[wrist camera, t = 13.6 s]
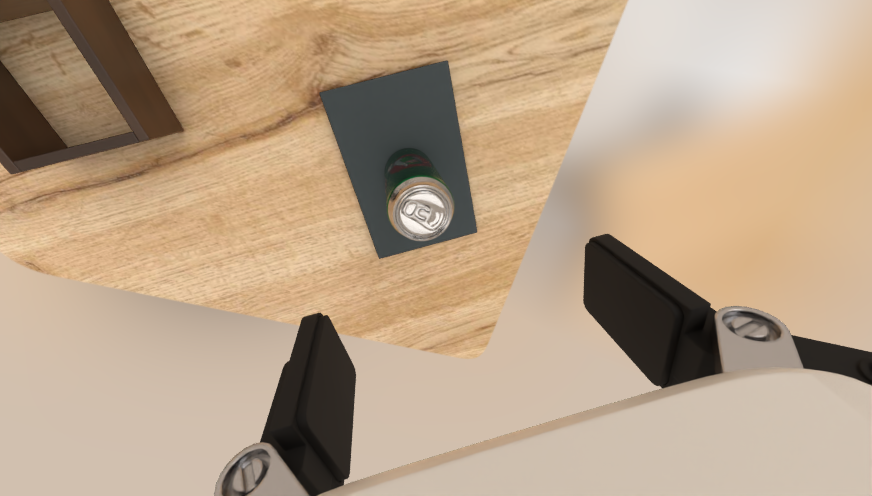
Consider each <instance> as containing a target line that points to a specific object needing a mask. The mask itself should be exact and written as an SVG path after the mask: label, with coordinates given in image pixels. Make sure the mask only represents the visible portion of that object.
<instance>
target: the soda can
mask: <svg viewBox="0 0 872 496" xmlns="http://www.w3.org/2000/svg"><path fill="white" fill-rule="evenodd" d="M384 174H385V190H386V206H387V215H388V218H389V221H390V223H391V225H392V226H393V227H394V229H395V230H396V231H397V232H399V233H400V234H401V235H403V236H405V237H407V238H409V239H411V240H415V241H428V240H431V239H434V238H436V237H438V236H439V235H441V234H442V233H443V232H444V231H445V230H446V229H447V227H448V226H449V224H450V222H451V219H452V217H453V214H454V199H453V196H452V193H451V191H450V190H449V188H448V186H447V185H446V183H445V182H444V180H443V179H442V177H441V176H440V174H439V172H438V171H437V169H436V168H435V166H434V165H433V163H432V162H431V160H430V159H429V157H428V156H427V155H426V154H425V153H423V152H422V151H420V150H418V149H414V148H404V149H401V150H398V151H397V152H395V153H394V154H393V155H391V157H390V158H389V159H388V161H387V163H386V166H385V173H384Z"/></svg>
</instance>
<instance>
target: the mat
mask: <svg viewBox="0 0 872 496" xmlns="http://www.w3.org/2000/svg"><path fill="white" fill-rule="evenodd" d="M320 96H321V99H322V102H323V104H324V107H325V110H326V113H327V115H328V118H329V121H330V124H331V127H332V129H333V132H334V135H335V138H336V140H337V143H338V146H339V149H340V151H341V154H342V157H343V160H344V163H345V165H346V168H347V171H348V174H349V176H350V179H351V182H352V185H353V187H354V190H355V193H356V196H357V199H358V201H359V204H360V207H361V210H362V212H363V215H364V218H365V221H366V223H367V226H368V229H369V232H370V235H371V237H372V240H373V243H374V246H375V248H376V251H377V254H378V257H379V259H381V258H384V257H388V256H392V255H395V254H399V253H403V252H406V251H410V250H414V249H417V248H421V247H425V246H429V245H432V244H436V243H440V242H443V241H447V240H451V239H454V238H458V237H462V236H465V235H469V234H473V233H476V232H477V227H476V222H475V216H474V210H473V204H472V198H471V193H470V187H469V181H468V175H467V169H466V164H465V158H464V152H463V146H462V141H461V135H460V129H459V123H458V117H457V112H456V106H455V100H454V94H453V88H452V83H451V77H450V71H449V65H448V61H443V62H439V63H435V64H431V65H427V66H423V67H419V68H415V69H411V70H407V71H403V72H399V73H396V74H392V75H388V76H384V77H380V78H376V79H372V80H368V81H364V82H360V83H356V84H352V85H348V86H344V87H340V88H336V89H332V90H328V91H324V92H320ZM404 148H414V149H418V150H420V151H422V152H423V153H425V154H426V155H427V156H428V157H429V159H430V160H431V162H432V163H433V165H434V166H435V168H436V169H437V171H438V172H439V174H440V176H441V177H442V179H443V180H444V182H445V183H446V185H447V186H448V188H449V190H450V191H451V193H452V196H453V199H454V214H453V217H452V219H451V222H450V224H449V226H448V227H447V229H446V230H445V231H444V232H443V233H442V234H441V235H439V236H438V237H436V238H434V239H431V240H428V241H415V240H411V239H409V238H407V237H405V236H403V235H401V234H400V233H399V232H397V231H396V230H395V229H394V227H393V226H392V225H391V223H390V221H389V218H388V215H387V206H386V190H385V174H384V173H385V166H386V163H387V161H388V159H389V158H390V157H391V155H393V154H394V153H395V152H397V151H398V150H401V149H404Z"/></svg>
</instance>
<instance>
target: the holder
mask: <svg viewBox="0 0 872 496" xmlns="http://www.w3.org/2000/svg"><path fill="white" fill-rule="evenodd" d="M50 10H53V11H54V12H55V14H56V15H57V17H58V18H59V20H60V21H61V23H62V24H63V26H64V27H65V29H66V30H67V32H68V33H69V35H70V37H71V38H72V40H73V41H74V43H75V44H76V46H77V47H78V49H79V50H80V52H81V53H82V55H83V56H84V58H85V59H86V61H87V62H88V64H89V65H90V67H91V68H92V70H93V71H94V73H95V74H96V76H97V77H98V79H99V81H100V82H101V84H102V85H103V87H104V88H105V90H106V91H107V93H108V94H109V96H110V97H111V99H112V100H113V102H114V103H115V105H116V106H117V108H118V109H119V111H120V112H121V114H122V115H123V117H124V118H125V120H126V122H127V123H128V125H129V126H130V128H131V129H132V131H133V132H129V133H125V134H121V135H117V136H113V137H109V138H105V139H101V140H97V141H93V142H89V143H85V144H81V145H77V146H73V147H69V148H67V147H66V145H65V144H64V143H63V142H62V140H61V139H60V138H59V136H58V135H57V134H56V133H55V131H54V130H53V129H52V127H51V126H50V125H49V124H48V122H47V121H46V120H45V118H44V117H43V116H42V114H41V113H40V112H39V111H38V109H37V108H36V107H35V105H34V104H33V103H32V102H31V100H30V99H29V98H28V96H27V95H26V94H25V93H24V91H23V90H22V89H21V87H20V86H19V85H18V84H17V82H16V81H15V80H14V78H13V77H12V76H11V75H10V73H9V72H8V71H7V69H6V68H5V67H4V65H3V64H2V63H1V62H0V163H1V164H2V165H3V166H4V167H5V168H6V169H7V171H8V172H9V173H10V174H16V173H20V172H24V171H28V170H32V169H36V168H40V167H44V166H48V165H52V164H55V163H59V162H63V161H67V160H71V159H75V158H79V157H83V156H87V155H91V154H95V153H99V152H103V151H107V150H111V149H115V148H119V147H123V146H127V145H131V144H135V143H139V142H143V141H147V140H151V139H154V138H158V137H162V136H166V135H170V134H173V133H177V132H181V131H183V128H182V126H181V125H180V123H179V121H178V120H177V118H176V116H175V114H174V113H173V111H172V109H171V107H170V106H169V104H168V102H167V101H166V99H165V97H164V95H163V94H162V92H161V90H160V89H159V87H158V85H157V83H156V82H155V80H154V78H153V77H152V75H151V73H150V71H149V70H148V68H147V66H146V65H145V63H144V61H143V59H142V58H141V56H140V54H139V53H138V51H137V49H136V47H135V46H134V44H133V42H132V41H131V39H130V37H129V35H128V34H127V32H126V30H125V29H124V27H123V25H122V23H121V22H120V20H119V18H118V16H117V15H116V13H115V11H114V10H113V8H112V6H111V4H110V3H109V1H108V0H0V22H4V21H8V20H12V19H16V18H21V17H25V16H29V15H33V14H38V13H42V12H46V11H50Z"/></svg>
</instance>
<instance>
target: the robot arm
mask: <svg viewBox="0 0 872 496" xmlns="http://www.w3.org/2000/svg"><path fill="white" fill-rule="evenodd" d="M583 301H584V305H585V308H586V309H587V311H588V312H589V313H590V314H591V315H592V316H593V317H594V318H595V320H596V321H597V322H598V323H599V324H600V325H601V326H602V328H604V330H605V331H606V332H607V333H608V334H609V335H610V336H611V338H612V339H613V340H614V341H615V342H616V343H617V344H618V345H619V347H620V348H621V349H622V350H623V351H624V352H625V353H626V354H627V355H628V357H629V358H630V359H631V360H632V361H633V362H634V363H635V364H636V366H637V367H638V368H639V369H640V370H641V371H642V372H643V373H644V374H645V376H646V377H647V378H648V379H649V380H650V381H651V382H652V383H653V384H654V385H656V386H661V387H662V389H659V390H656V391H652V392H648V393H645V394H641V395H638V396H635V397H631V398H628V399H624V400H621V401H618V402H614V403H611V404H607V405H604V406H601V407H597V408H594V409H590V410H587V411H583V412H580V413H577V414H573V415H570V416H567V417H563V418H560V419H556V420H553V421H550V422H546V423H543V424H540V425H537V426H533V427H530V428H526V429H523V430H520V431H516V432H513V433H510V434H506V435H503V436H500V437H496V438H493V439H490V440H486V441H483V442H480V443H476V444H473V445H470V446H466V447H463V448H460V449H457V450H453V451H450V452H447V453H444V454H440V455H437V456H434V457H430V458H427V459H424V460H420V461H417V462H414V463H411V464H407V465H404V466H401V467H398V468H395V469H392V470H388V471H385V472H382V473H379V474H376V475H373V476H370V477H367V478H364V479H361V480H358V481H355V482H352V483H348V484H346V485H344V479H347V478H348V477H349V474H350V461H351V445H352V429H353V413H354V397H355V382H356V372H355V368H354V365H353V363H352V361H351V359H350V357H349V355H348V353H347V351H346V350H345V348H344V346H343V344H342V342H341V340H340V338H339V336H338V334H337V332H336V330H335V328H334V326H333V324H332V322H331V320H330V318H329V317H328V316H327V315H325V316H323V315H322V314H321V313H317V314H313V315H309V316H306V317H303V318H302V320H301V324H300V327H299V331H298V334H297V337H296V341H295V344H294V347H293V351H292V354H291V357H290V361H288V362H287V363H286V364H285V365H284V367H283V370H282V373H281V377H280V380H279V383H278V387H277V389H276V393H275V396H274V399H273V402H272V406H271V409H270V412H269V415H268V418H267V422H266V425H265V428H264V431H263V434H262V438H261V441H260V443H256V444H253V445H251V446H249V447H246V448H245V449H243V450H242V451H241V452H239V453H238V454H237V455H236V456H235V457H233V459H232V460H231V461H230V462H229V463H228V464H227V465H226V467H225V468H224V470H223V471H222V472H221V474H220V476H219V479H218V481H217V483H216V487H215V492H214V496H872V352H868V351H863V350H858V349H854V348H849V347H845V346H840V345H835V344H831V343H826V342H821V341H816V340H812V339H807V338H802V337H798V336H793V335H791V334H790V331H789V330H788V328H787V327H786V325H785V324H783V323H782V322H781V321H780V320H778V319H777V318H776V317H774V316H772V315H770V314H768V313H765V312H763V311H760V310H757V309H753V308H749V307H741V306H731V307H725V308H722V309H720V310H719V311H718V312H716V311H715V310H714V309H712V308H711V307H710V305H711V304H710V303H709V302H707V301H706V300H704V299H703V298H701V297H700V296H698V295H697V294H696V293H694V292H693V291H691V290H690V289H688V288H687V287H685V286H684V285H683V284H681V283H679V282H678V281H677V280H675V279H674V278H672V277H671V276H669V275H668V274H667V273H665V272H664V271H662V270H661V269H659V268H658V267H656V266H655V265H653V264H652V263H650V262H649V261H648V260H646V259H645V258H643V257H642V256H640V255H639V254H637V253H636V252H634V251H633V250H632V249H630V248H629V247H627V246H626V245H624V244H623V243H621V242H620V241H618V240H617V239H616V238H614V237H613V236H611V235H609V234H604V235H600V236H597V237H593V238H591V239H590V240H589V243H587V244H586V246H585V269H584V299H583Z"/></svg>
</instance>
